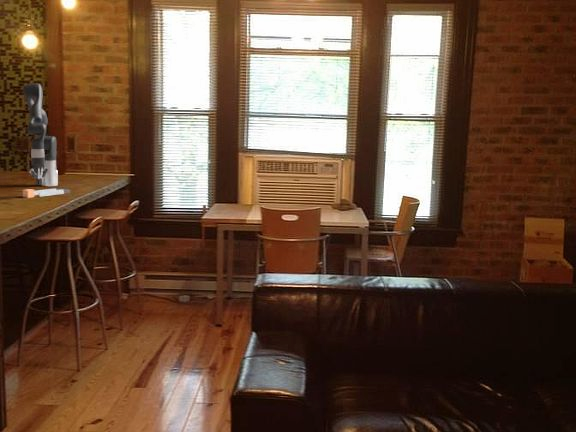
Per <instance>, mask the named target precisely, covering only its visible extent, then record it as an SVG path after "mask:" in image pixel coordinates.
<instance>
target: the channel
mask: <svg viewBox="0 0 576 432" xmlns="http://www.w3.org/2000/svg"><path fill="white" fill-rule="evenodd" d="M56 189H57V188H56V187H55V188H48V189H47V188H46V189H38V190H34V196H38V197H42V198H43V197H46V196H47V197H49V196H55V195H56V196H57V195H64V190H56Z"/></svg>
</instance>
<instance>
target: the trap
mask: <svg viewBox="0 0 576 432" xmlns="http://www.w3.org/2000/svg"><path fill="white" fill-rule="evenodd" d="M56 190H64V194H71V189H67V188H56ZM64 194H63V195H64Z"/></svg>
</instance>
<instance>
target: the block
mask: <svg viewBox="0 0 576 432" xmlns="http://www.w3.org/2000/svg"><path fill="white" fill-rule="evenodd" d="M34 191H35V189H32V188H31V189H30V188H27V189H25V188H24V189H22V198H26V199H27V198H28V199H29V198H35V195H34Z"/></svg>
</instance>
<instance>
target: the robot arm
mask: <svg viewBox="0 0 576 432" xmlns="http://www.w3.org/2000/svg"><path fill="white" fill-rule="evenodd" d="M22 92H23V96H24V98H25V101H26V104H27V106H28V110H29V121H28V126H27V133H28V134H29V135H31V136H36V138H33V139H32V140H31V142H30V143H31V144H30V146H31V147H30V148H31V150H30V151H31V152H30V154H31V156H30V157H31V159H30V160H31V169H29V170H28V173H29V174H30V176H31V177H32V178H33V179H35V183H36V185H37V186H43V187H56V186H58V185H59V177H58V176H59V174H58V170H57V143H58V142H57V138H56V136H53V135H52V136H50V135H46V132H47V125H48V123H49V121H48V120H49V119H48V117H47V113H46V111H45V110H44V109H43V108H42V107H43V98H44V94H43V93H44V91H43V87H42V85H41V84H40V83H37V82H36V83H29V84H24V85H23V86H22ZM34 100H35V101H34ZM45 151H49V153H45Z"/></svg>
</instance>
